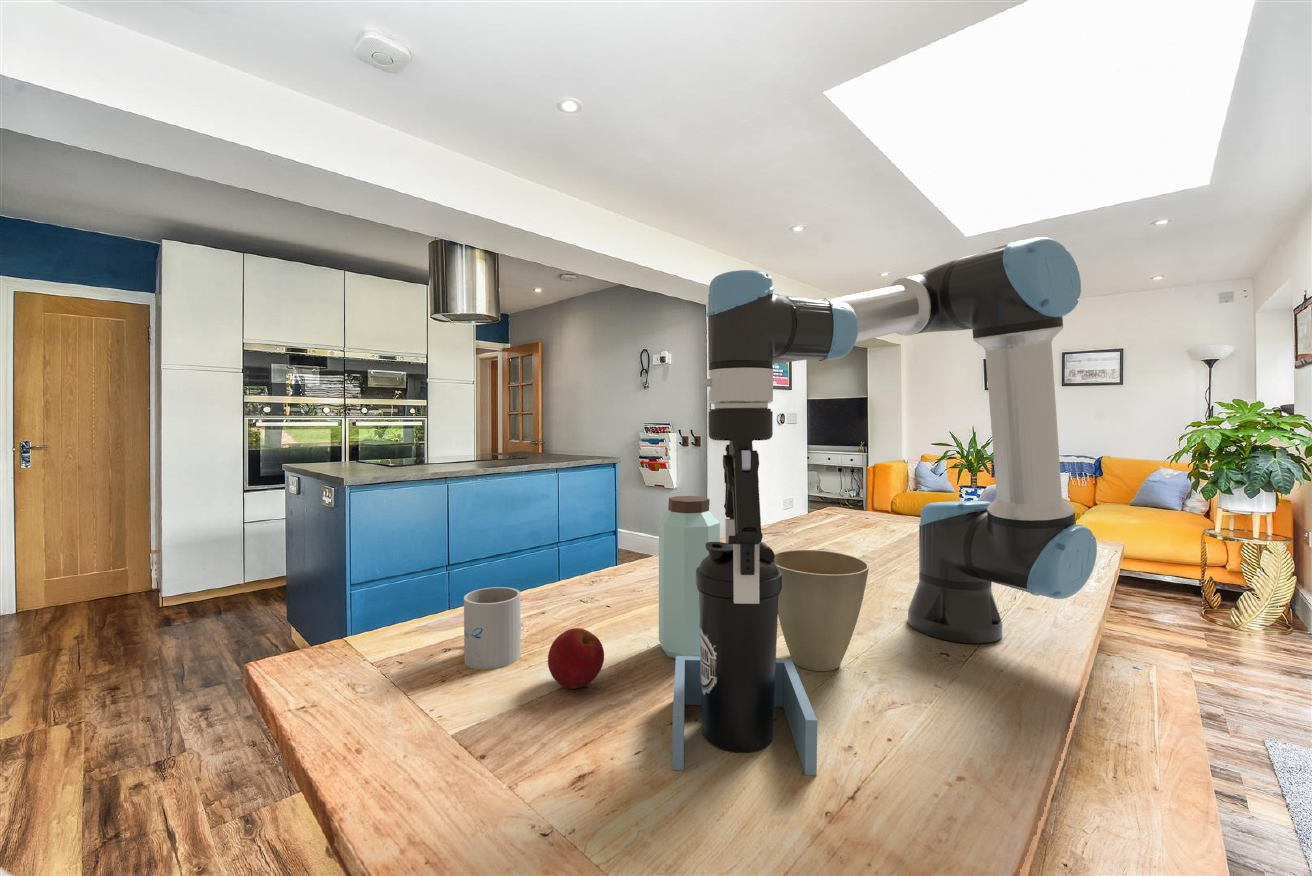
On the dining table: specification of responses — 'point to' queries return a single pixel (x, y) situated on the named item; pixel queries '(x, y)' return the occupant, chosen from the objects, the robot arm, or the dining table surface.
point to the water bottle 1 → (682, 571)
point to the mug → (492, 627)
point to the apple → (575, 658)
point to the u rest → (785, 696)
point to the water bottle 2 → (737, 652)
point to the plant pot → (819, 604)
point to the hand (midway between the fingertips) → (740, 584)
